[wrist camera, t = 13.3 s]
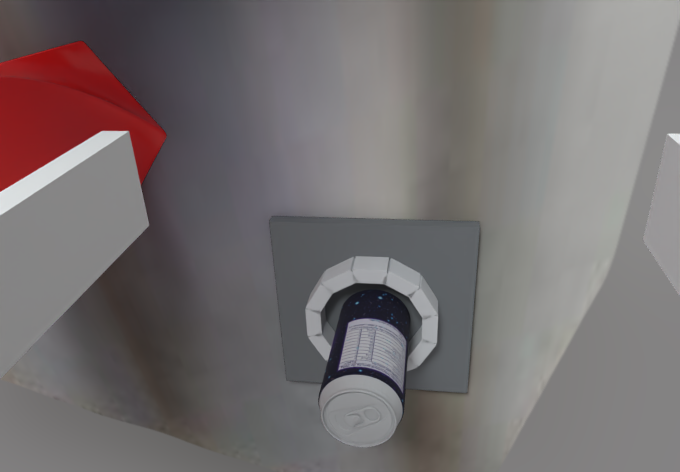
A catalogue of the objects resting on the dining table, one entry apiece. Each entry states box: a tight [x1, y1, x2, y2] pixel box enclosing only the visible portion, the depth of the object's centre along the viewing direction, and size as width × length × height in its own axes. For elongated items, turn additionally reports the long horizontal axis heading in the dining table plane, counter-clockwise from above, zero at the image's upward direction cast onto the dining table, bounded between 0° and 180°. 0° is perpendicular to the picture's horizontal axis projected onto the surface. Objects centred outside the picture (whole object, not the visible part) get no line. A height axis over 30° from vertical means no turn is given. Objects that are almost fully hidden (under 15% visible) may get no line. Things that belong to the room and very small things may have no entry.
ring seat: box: [269, 216, 480, 393], centre depth 47 cm, size 16×16×3 cm
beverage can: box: [318, 289, 410, 447], centre depth 42 cm, size 6×6×12 cm
